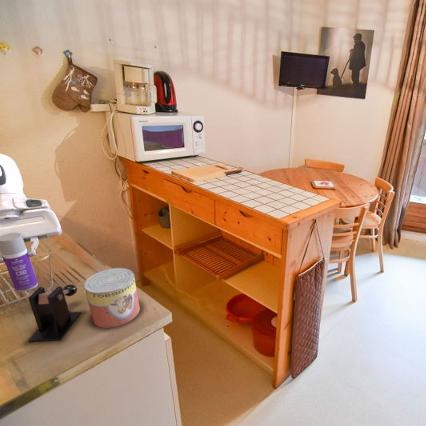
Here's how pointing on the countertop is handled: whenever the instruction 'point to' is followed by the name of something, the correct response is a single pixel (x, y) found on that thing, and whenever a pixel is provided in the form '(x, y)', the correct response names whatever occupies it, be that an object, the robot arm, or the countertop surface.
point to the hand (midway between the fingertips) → (17, 259)
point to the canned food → (112, 297)
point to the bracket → (51, 316)
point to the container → (18, 262)
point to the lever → (67, 290)
